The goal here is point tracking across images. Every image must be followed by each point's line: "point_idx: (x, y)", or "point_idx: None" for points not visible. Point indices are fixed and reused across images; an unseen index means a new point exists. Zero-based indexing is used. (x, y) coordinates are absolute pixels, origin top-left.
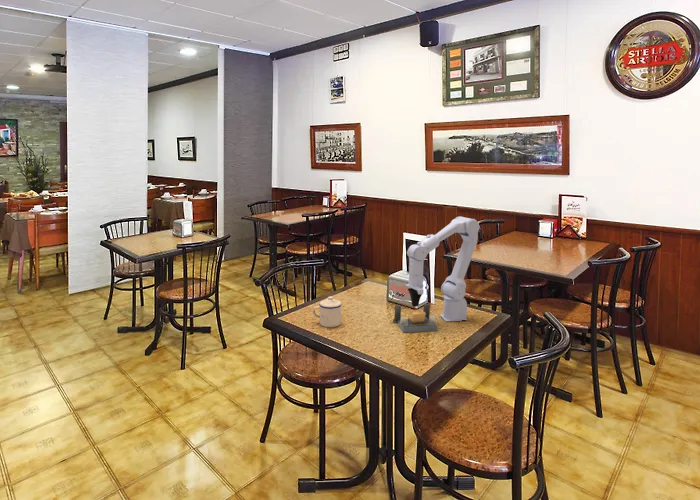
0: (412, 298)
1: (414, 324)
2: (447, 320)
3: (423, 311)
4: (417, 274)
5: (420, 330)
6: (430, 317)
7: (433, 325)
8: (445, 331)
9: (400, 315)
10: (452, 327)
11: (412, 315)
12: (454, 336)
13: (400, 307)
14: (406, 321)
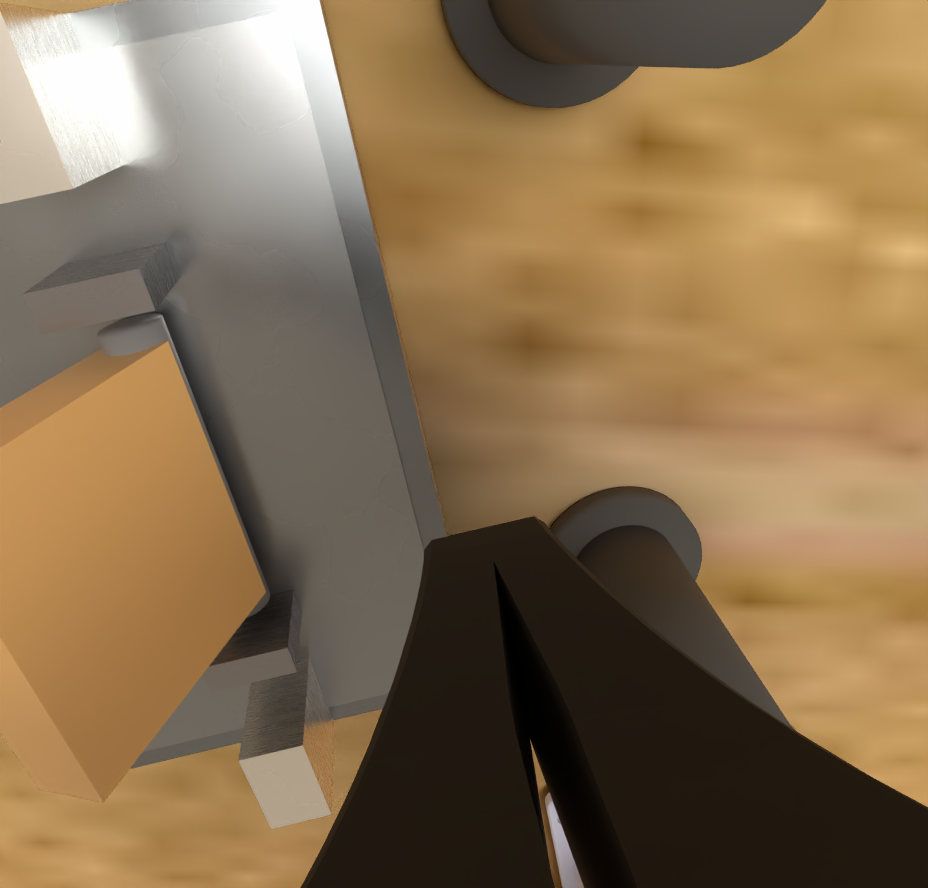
0: (339, 812)
1: (19, 390)
2: (555, 815)
3: (678, 620)
4: None
5: None
6: (244, 752)
7: None
8: (171, 776)
9: (561, 54)
10: None
11: (19, 429)
12: (5, 862)
13: (626, 39)
14: (187, 203)
